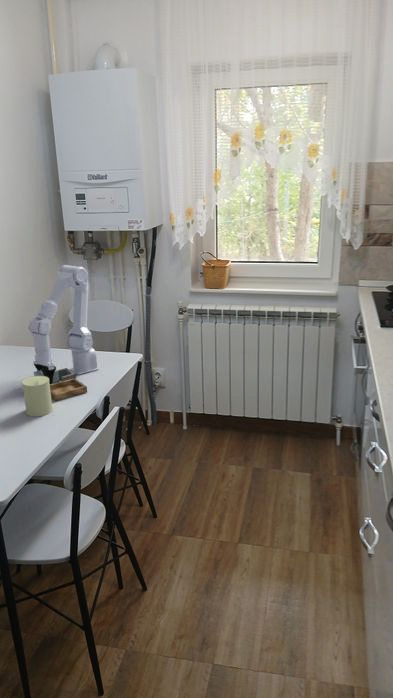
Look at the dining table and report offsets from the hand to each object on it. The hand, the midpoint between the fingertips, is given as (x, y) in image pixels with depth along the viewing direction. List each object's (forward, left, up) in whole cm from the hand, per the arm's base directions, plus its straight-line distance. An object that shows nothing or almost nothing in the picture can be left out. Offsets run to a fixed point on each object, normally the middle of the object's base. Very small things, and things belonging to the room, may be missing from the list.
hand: (46, 381), depth 213 cm
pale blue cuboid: (0, 0, -2) cm, 2 cm away
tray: (-3, +11, -2) cm, 12 cm away
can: (+11, +20, -2) cm, 23 cm away
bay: (-8, 0, -2) cm, 8 cm away
